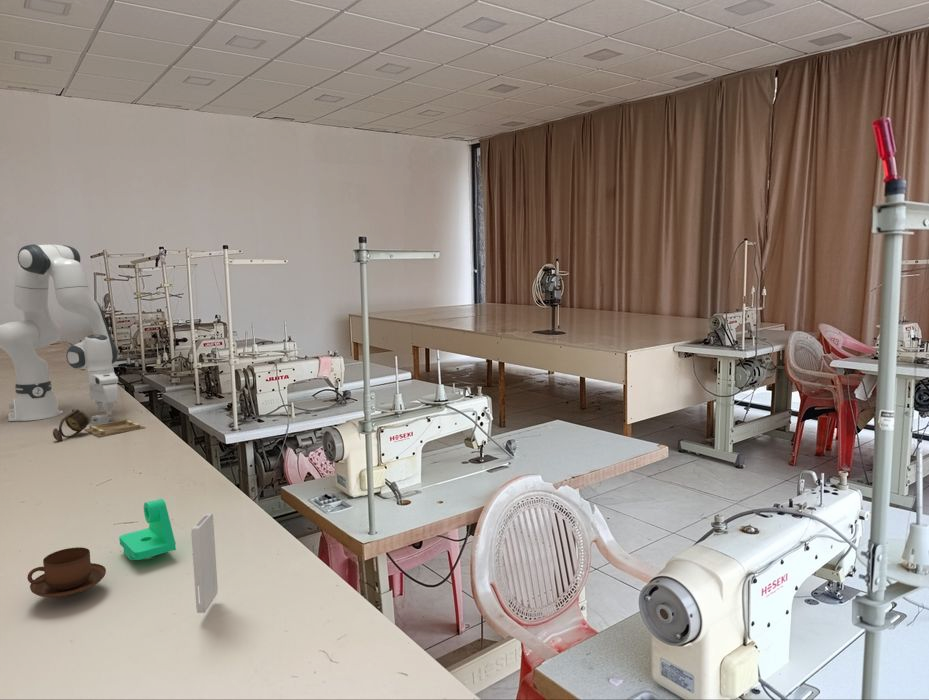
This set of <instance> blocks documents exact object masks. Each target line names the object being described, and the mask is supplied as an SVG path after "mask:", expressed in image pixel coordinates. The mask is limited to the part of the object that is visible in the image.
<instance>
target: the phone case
mask: <svg viewBox="0 0 929 700" xmlns="http://www.w3.org/2000/svg"><path fill="white" fill-rule="evenodd" d="M214 522H215V521H214V514H213V513H204V514H203V515H202V516H201V517H200V519H198V521H197V522H196V523H195V524H194V525H193V526H192V528H191V533H190V536H191V546H192V547H191V548H192V565H193V578H194V590H195V591H194V592H195V593H194V594H195V608H196V612H197V613H198V614H205V613H206V611H207V610H208V609H209V607H210V606H211V604H212V603H213V601H214V599H215V598H216V596H217V595H218V588H219V586H218V573H217V572H218V571H217V558H216V542H215V541H216V540H215V526H214V525H215V524H214Z"/></svg>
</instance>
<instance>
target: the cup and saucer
mask: <svg viewBox="0 0 929 700" xmlns="http://www.w3.org/2000/svg"><path fill="white" fill-rule="evenodd" d="M90 551H91V550H90V549H89V548H86V547H81V546H80V547H78V546H77V547H67V548H64V549H60V550H56V551H54V552H51V553H50V554H48V555H47V556H45V557H44V558H43V561H42V564H43V566H38V567H34V568H32V569H31V570H30V571H29V572H28V574H27V581H28V583H29V584H30V585H29V589H30V591H31V593H32V594H34V595H36V596H39V597H41V598H50V599H51V598H52V599H53V598H62V597H69V596H72V595H76V594H79V593H82V592H84V591H86V590H89V589H91V588H93V587H94V586H96V585H97V584H99V583H100V582H101V581H102V580H103V579H104V577H105V576H106V574H107V573H106V572H107V569H106V567H105V566H104V565H102V564H100V563H92V562H91V554H90V553H91V552H90ZM36 572H44V573H43V574H41V575H39V576H37V577H36V578H35V579H33V577H32V576H33V575H34V573H36Z"/></svg>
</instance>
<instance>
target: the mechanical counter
mask: <svg viewBox="0 0 929 700" xmlns="http://www.w3.org/2000/svg"><path fill="white" fill-rule="evenodd" d="M64 422H65V423H66V425H67V427H68V428H69V429H70V430H71V431H73V432H75V433H73V434H71V435H65V434H64V433H63V429H62V428H63V424H64ZM88 425H90V418H89V416H88V415H87V413H85V412H84V411H83V410H80V409H78V408H75V409H74V408H73V409H71V412H70V413H68V414H67V415H65V416H64V417H63V418H62V419H61V420H60V423H59V425H58V428H56V427H55V428H54V429H52V437H53V438H54V439H55V441H58V442H62V441H63V438H67V439H68V438H69V439H70V438H73V437H76V436H77V435H78V434H79V433H81V432H82V431H84V429H87V426H88Z"/></svg>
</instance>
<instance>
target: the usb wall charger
mask: <svg viewBox="0 0 929 700" xmlns="http://www.w3.org/2000/svg"><path fill="white" fill-rule="evenodd" d="M113 419H114V417H113V416H111V417H110V415H107V414H106V413H101V414H96V415H93V416H91V425H97V424H103V423H110V420H111V421H112V420H113Z"/></svg>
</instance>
